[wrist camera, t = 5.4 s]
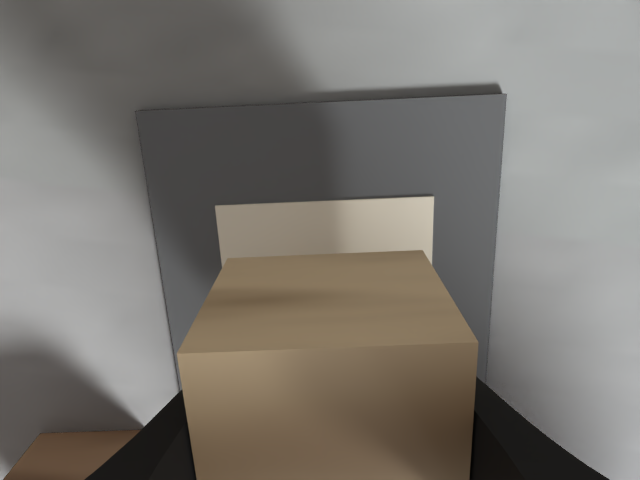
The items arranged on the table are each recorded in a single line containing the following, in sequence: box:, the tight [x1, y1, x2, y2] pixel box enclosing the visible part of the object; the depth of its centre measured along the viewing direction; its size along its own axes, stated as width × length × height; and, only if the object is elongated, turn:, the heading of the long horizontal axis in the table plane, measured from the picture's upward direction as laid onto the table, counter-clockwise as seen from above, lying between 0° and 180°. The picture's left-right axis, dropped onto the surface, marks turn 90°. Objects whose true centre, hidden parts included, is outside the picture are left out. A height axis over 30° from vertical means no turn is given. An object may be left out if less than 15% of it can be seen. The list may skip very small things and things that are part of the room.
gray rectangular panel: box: [135, 94, 507, 391], centre depth 18 cm, size 14×12×1 cm
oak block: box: [177, 250, 479, 480], centre depth 12 cm, size 6×6×5 cm
